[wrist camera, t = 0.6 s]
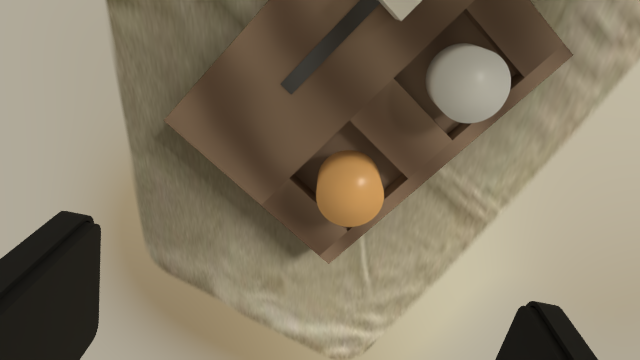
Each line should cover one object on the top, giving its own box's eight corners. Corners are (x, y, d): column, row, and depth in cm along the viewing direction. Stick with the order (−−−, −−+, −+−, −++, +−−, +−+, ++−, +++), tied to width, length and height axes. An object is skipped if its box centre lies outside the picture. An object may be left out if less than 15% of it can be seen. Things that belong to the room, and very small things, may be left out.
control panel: (396, -136, 29) (405, -156, 25) (546, 48, 33) (573, 55, 29) (181, 107, 35) (162, 120, 31) (328, 238, 39) (328, 264, 35)
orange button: (349, 137, 31) (350, 150, 29) (392, 179, 33) (398, 196, 30) (304, 179, 33) (302, 196, 30) (347, 219, 34) (349, 239, 31)
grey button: (464, 28, 29) (479, 31, 26) (508, 78, 30) (526, 86, 27) (411, 78, 30) (419, 87, 27) (454, 125, 31) (466, 137, 28)
